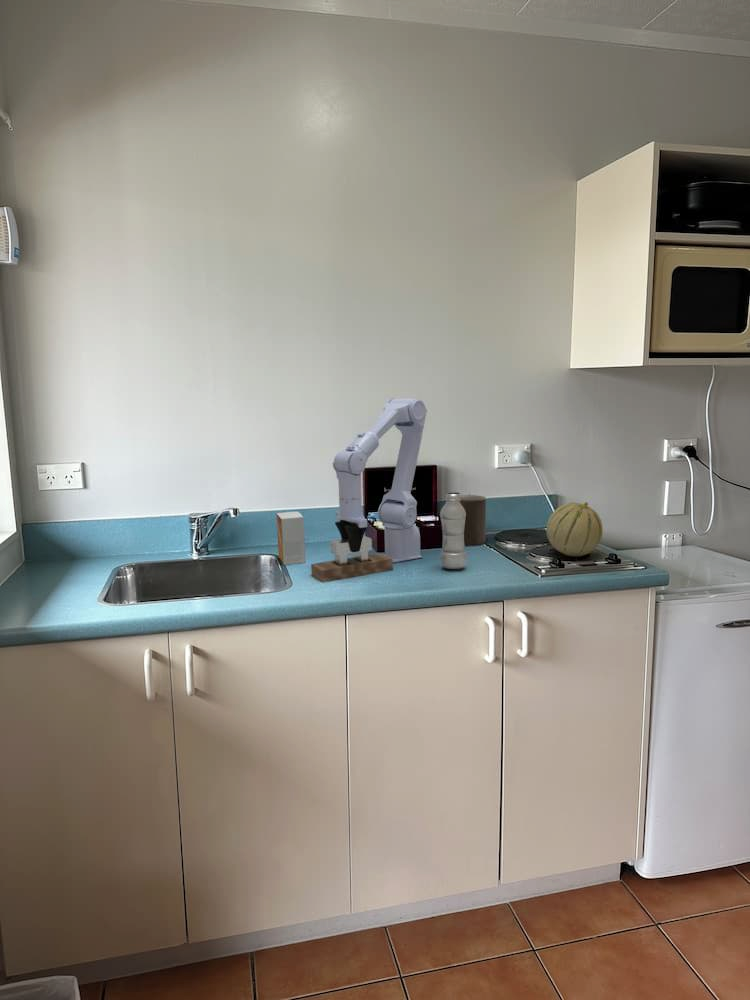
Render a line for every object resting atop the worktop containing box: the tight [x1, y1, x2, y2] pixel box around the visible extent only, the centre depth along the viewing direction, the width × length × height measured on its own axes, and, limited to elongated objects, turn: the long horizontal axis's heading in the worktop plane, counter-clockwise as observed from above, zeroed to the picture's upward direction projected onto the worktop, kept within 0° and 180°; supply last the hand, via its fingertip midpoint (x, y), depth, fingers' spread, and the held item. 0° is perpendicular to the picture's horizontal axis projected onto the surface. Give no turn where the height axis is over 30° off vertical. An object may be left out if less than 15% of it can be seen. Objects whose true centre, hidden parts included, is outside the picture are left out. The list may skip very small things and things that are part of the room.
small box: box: [276, 511, 307, 566], centre depth 194 cm, size 8×6×13 cm
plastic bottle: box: [439, 491, 467, 570], centre depth 182 cm, size 6×7×20 cm
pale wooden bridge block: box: [330, 535, 373, 566], centre depth 181 cm, size 10×4×6 cm, turn 118°
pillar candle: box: [460, 492, 487, 547], centre depth 210 cm, size 10×10×15 cm
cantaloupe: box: [545, 502, 603, 557], centre depth 192 cm, size 15×15×15 cm
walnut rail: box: [310, 552, 394, 583], centre depth 182 cm, size 20×7×3 cm, turn 118°
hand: (351, 549), depth 181 cm, fingers closed on pale wooden bridge block, 4 cm apart
